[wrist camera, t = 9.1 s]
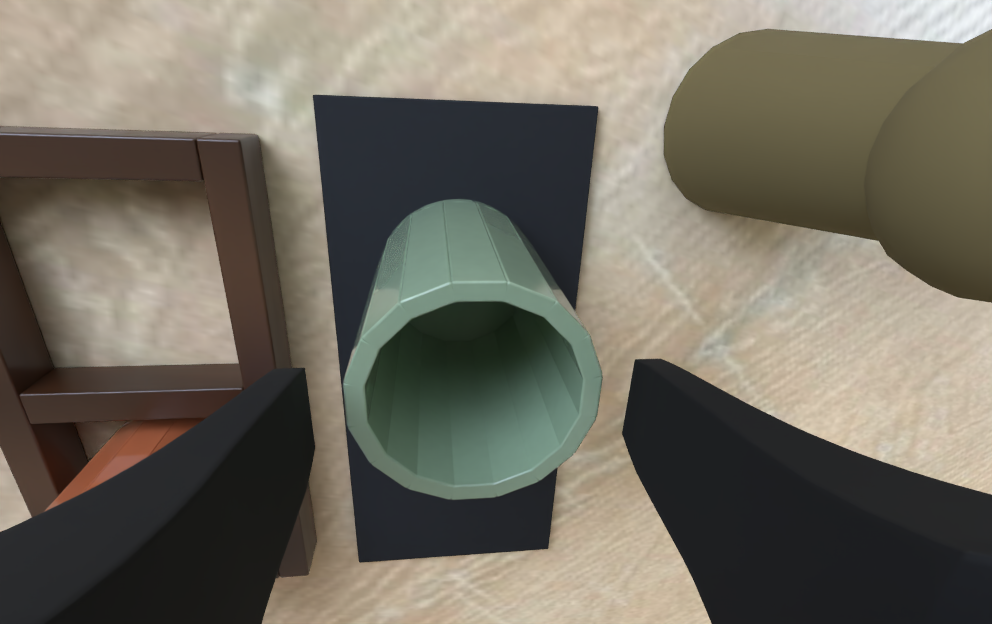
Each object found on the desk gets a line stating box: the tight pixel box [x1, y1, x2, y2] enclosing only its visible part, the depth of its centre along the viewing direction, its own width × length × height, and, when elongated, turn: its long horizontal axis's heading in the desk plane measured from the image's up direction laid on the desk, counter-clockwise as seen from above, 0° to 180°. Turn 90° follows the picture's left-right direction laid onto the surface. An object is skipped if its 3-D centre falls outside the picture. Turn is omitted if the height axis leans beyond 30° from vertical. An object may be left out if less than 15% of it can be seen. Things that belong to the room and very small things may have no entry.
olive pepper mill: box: [664, 29, 992, 302], centre depth 13 cm, size 6×6×11 cm
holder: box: [0, 126, 317, 578], centre depth 18 cm, size 18×9×2 cm, turn 178°
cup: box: [343, 199, 603, 500], centre depth 15 cm, size 6×6×8 cm
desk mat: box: [313, 95, 598, 562], centre depth 20 cm, size 20×9×1 cm, turn 178°
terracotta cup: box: [42, 418, 206, 513], centre depth 17 cm, size 6×6×6 cm
